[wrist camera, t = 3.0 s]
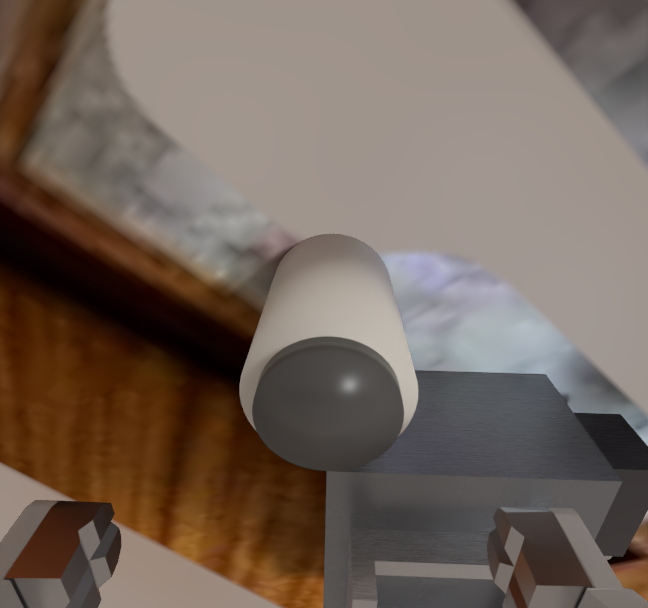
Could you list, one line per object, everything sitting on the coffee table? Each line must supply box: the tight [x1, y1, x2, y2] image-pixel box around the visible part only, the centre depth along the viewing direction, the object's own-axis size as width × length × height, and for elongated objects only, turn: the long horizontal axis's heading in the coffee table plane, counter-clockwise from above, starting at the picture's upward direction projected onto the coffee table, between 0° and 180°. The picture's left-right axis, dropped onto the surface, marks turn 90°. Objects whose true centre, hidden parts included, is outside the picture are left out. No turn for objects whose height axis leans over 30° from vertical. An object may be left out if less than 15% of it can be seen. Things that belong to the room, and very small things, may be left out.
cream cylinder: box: [239, 234, 418, 471], centre depth 15 cm, size 5×5×8 cm
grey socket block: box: [323, 371, 648, 608], centre depth 19 cm, size 13×14×8 cm
